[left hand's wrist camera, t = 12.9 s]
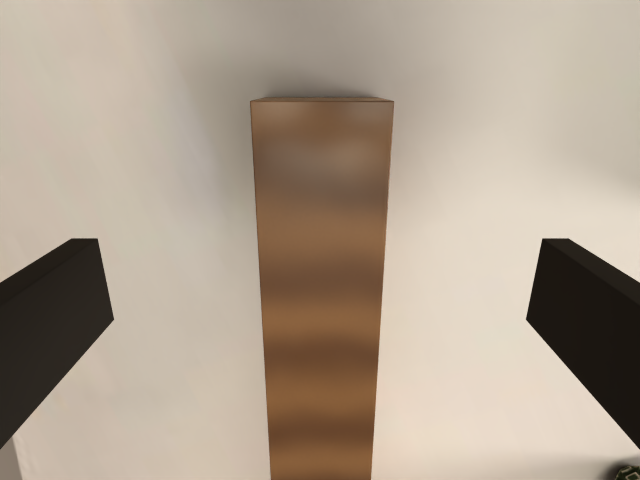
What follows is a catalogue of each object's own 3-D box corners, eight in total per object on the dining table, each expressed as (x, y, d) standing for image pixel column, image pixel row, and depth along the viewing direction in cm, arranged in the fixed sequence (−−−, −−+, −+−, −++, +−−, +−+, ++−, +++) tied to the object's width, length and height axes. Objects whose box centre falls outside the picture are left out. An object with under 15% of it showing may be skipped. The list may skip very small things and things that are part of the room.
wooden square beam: (264, 97, 33) (249, 100, 26) (378, 97, 33) (394, 101, 26) (284, 548, 51) (278, 621, 44) (356, 548, 51) (362, 621, 44)
